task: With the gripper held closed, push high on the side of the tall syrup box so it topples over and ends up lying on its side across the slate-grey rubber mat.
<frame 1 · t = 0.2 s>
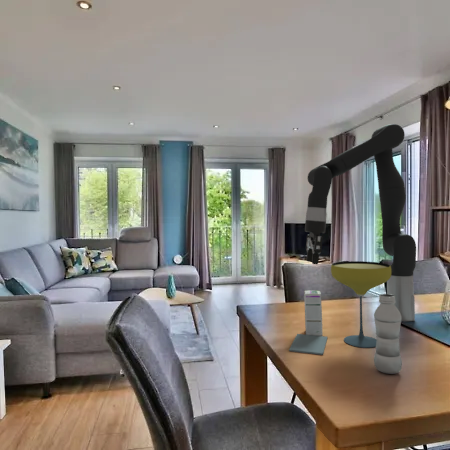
hand: (312, 262, 132), 23 cm above the table, tool pointing down, fingers open, 8 cm apart
plastic bottle: (387, 372, 91), on the table
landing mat: (309, 344, 112), on the table
syrup box: (313, 333, 122), on the table
cocktail glass: (361, 342, 113), on the table
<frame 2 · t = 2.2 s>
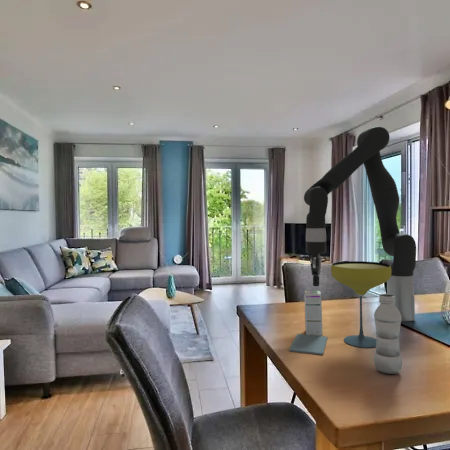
hand: (316, 285, 132), 14 cm above the table, tool pointing down, fingers closed
nothing on the table moved.
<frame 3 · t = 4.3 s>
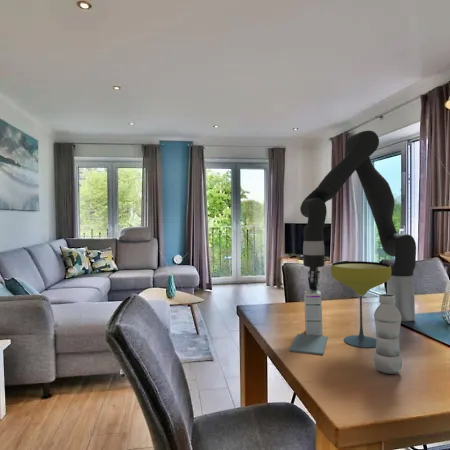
hand: (314, 300, 128), 10 cm above the table, tool pointing down, fingers closed
syrup box: (313, 333, 122), on the table, touching gripper
everything else where it was.
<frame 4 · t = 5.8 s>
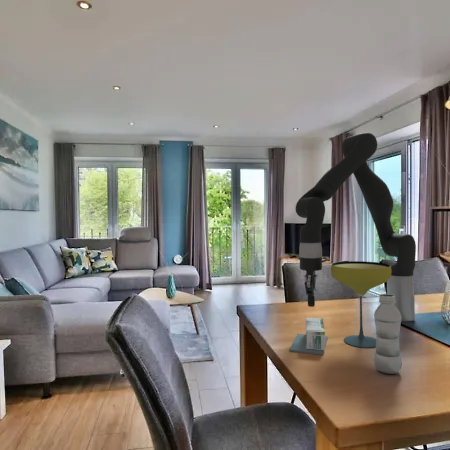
hand: (311, 306, 120), 10 cm above the table, tool pointing down, fingers closed
syrup box: (313, 325, 120), point 3 cm above the table, touching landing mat
everything else where it was.
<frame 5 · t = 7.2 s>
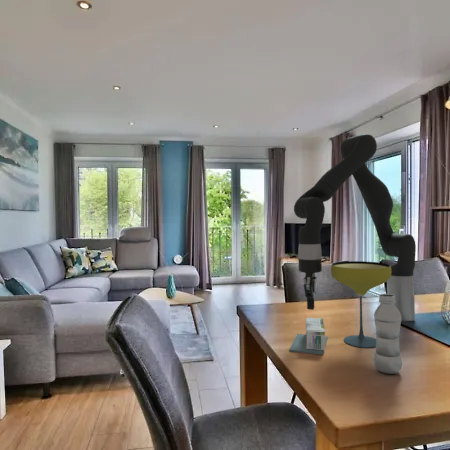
hand: (310, 308, 117), 10 cm above the table, tool pointing down, fingers closed
nothing on the table moved.
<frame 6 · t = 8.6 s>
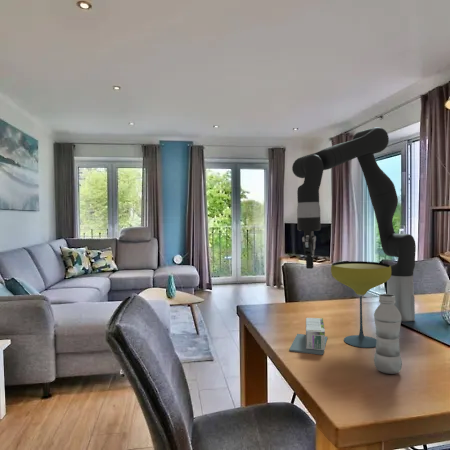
hand: (309, 268, 116), 24 cm above the table, tool pointing down, fingers closed
nothing on the table moved.
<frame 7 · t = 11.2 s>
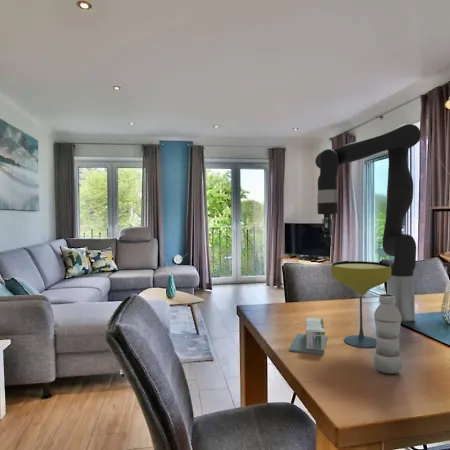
hand: (328, 246, 136), 29 cm above the table, tool pointing down, fingers closed
nothing on the table moved.
at the end: syrup box tilted 90°; syrup box touching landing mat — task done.
